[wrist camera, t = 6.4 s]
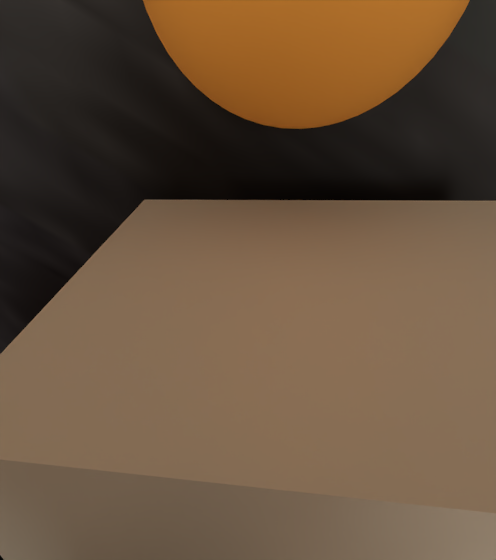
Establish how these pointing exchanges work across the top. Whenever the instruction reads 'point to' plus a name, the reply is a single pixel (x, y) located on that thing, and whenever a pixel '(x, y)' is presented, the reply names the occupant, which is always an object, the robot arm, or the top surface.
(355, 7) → the ball
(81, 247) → the top surface
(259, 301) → the cream cube
